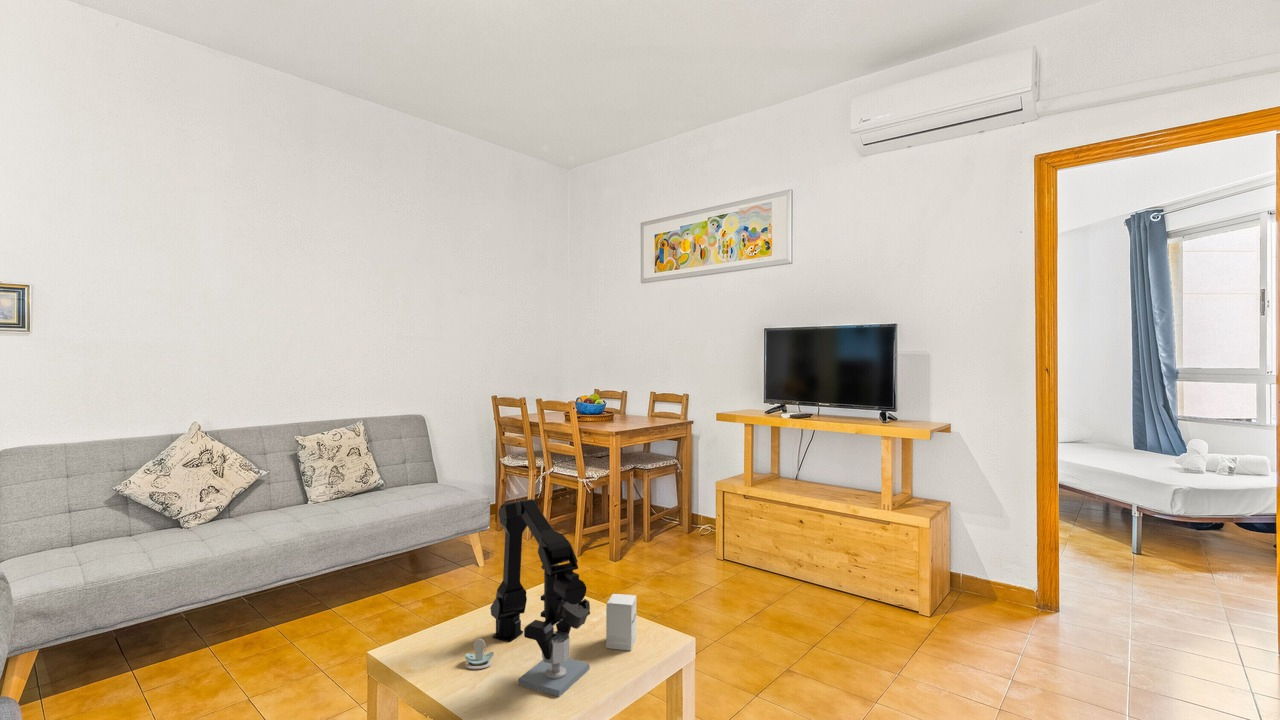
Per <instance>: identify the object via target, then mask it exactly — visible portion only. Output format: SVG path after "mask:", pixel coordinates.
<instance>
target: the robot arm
mask: <svg viewBox="0 0 1280 720" xmlns="http://www.w3.org/2000/svg"><path fill="white" fill-rule="evenodd" d="M498 518H499V524H500V525H501V527H502V528H503V531H504V551H503V553H504V554H503V557H504V558H503V573H502V577H503V578H502V581H501V583H499V586H498V588H497V589H496V595H495V599H494V600H493V602H492V603H491V605H490V608H489V610H490V615H491V616H492V617H493V618H494V619H495V633H494V634H492V635H491V637H492V638H493V639H497V640H501V641H504V642H512V641H513V640H515V639H516V638H518V637H519V636H520V635H522V634H523V633H524V634H523V637H524V638H525V639H528V640H529V639H530V640H534V641H535V642H537V645H538V647H539V649H540V651H541V654H542V653H543V655H544V657H545V659H547V660H549V659H550V656H551V647H552V639H553V638H554V637H555V636H556V635H557V634H553V633H554V631H555V630H554V629H555V628H554V627H555V626H556V631H562V632H566V633H567V634H568V636H569V637H570V632H571V629H575V630H577V629H579V628H580V627H581V626H583V625H585V623H586V620H587V617H588V616H589V615H591V611H590V610H591V607H590V605H591V604H590V601H589V600H588V599H586V598H585V597H586V594H587V586H586V584H585V581H583V580H582V579H580V574H579V573H577V572H574V571H575V570H579V565H578V559H577V556H576V554H575V551H574V549H573V545H572V543H570V541H569V540H568V538H566V536H564V534H562V533H560V532H557V531H555V530H554V528H553V526H552V525H551V524H550V523H549V521H548V520H547V518H546V517H545V514H543V512H542V511H541V510H540V508H539V506H538V501H537V500H536V499H533V498H530V499H523V500H517V501H511V502H509V501H508V502H503V503H502V505H500V506H499V508H498ZM526 528H528V529H529V531H530V533H531V534H532V536H533V537H534V539H535V541H536V542H537V544H538V548H537V555H538V557H539V560H540V562H541V564H542V565H541V566H540V567H541V569H542V570H543V574H544V575H543V576H544V577H543V579H544V580H543V582H544V585H543V591H544V592H543V594H542V595H540V601H543V610H542V611H541V612H540V618H544V620H543V621H542V620H538V619H535V620H533V621H532V622H530V623H528V624H526V626H525V627H524V628H523V630H522V627H521V626H522V624H521V623H522V620H521V619H520V617H521V614H525V613H526V612H525V611H526V607H527V606H526V605H527V602H528V601H527V600H528V598H527V590H526V589H525V587H524V586H523V584H522V583H521V572H522V571H521V570H522V568H521V567H522V553H523V552H522V550H523V548H522V547H523V533H524V531H525V530H526ZM562 563H563V564H562Z"/></svg>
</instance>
